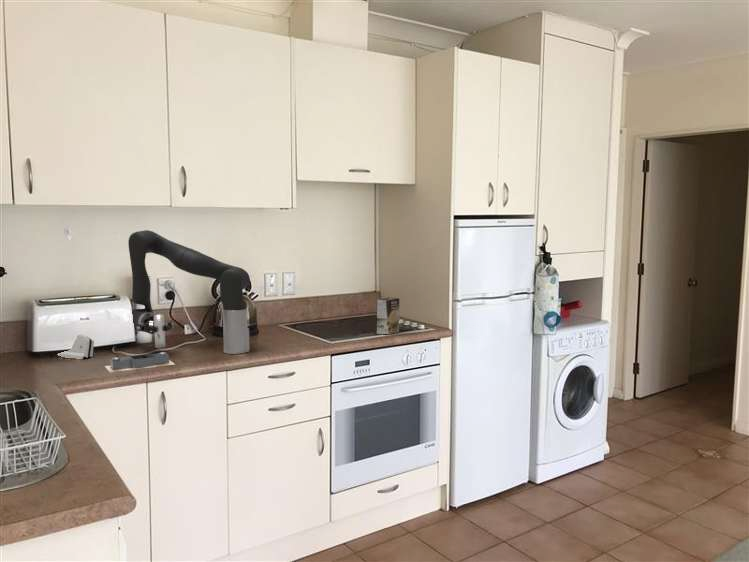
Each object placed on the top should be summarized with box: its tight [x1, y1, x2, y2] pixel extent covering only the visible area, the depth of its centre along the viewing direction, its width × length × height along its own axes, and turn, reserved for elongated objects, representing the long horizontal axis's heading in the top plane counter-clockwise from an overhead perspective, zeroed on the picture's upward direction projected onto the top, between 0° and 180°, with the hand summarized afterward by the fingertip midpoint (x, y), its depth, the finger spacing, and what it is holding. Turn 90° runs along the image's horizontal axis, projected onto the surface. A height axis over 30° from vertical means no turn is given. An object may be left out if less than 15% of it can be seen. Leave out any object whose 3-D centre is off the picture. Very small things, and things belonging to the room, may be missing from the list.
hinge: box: [57, 334, 95, 359], centre depth 244 cm, size 17×5×10 cm, turn 68°
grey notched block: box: [109, 351, 170, 370], centre depth 228 cm, size 19×7×4 cm, turn 123°
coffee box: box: [376, 297, 400, 335], centre depth 295 cm, size 9×6×16 cm
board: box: [104, 359, 176, 373], centre depth 228 cm, size 22×10×1 cm, turn 123°
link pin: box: [154, 313, 166, 349], centre depth 239 cm, size 4×4×12 cm
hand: (161, 329), depth 237 cm, fingers closed on link pin, 3 cm apart
